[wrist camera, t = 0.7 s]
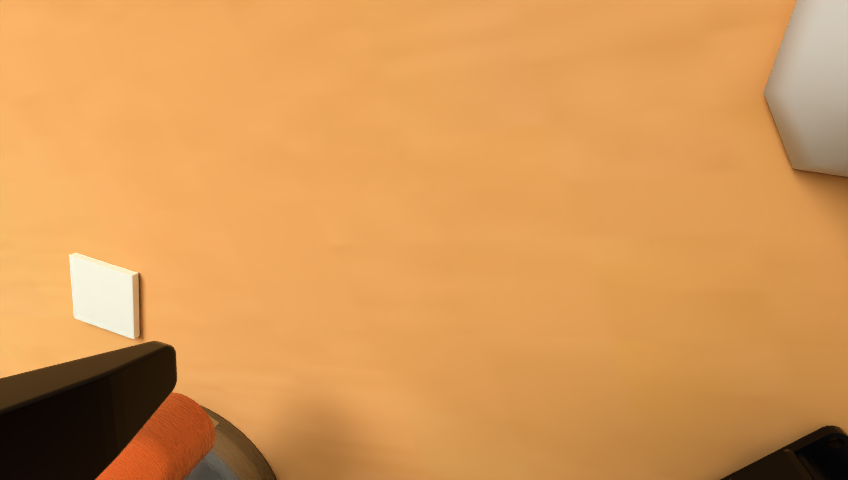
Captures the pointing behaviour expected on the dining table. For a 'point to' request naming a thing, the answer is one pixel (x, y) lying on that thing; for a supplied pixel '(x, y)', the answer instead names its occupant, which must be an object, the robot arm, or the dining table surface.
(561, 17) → the dining table surface
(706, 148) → the dining table surface
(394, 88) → the dining table surface
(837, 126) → the flask
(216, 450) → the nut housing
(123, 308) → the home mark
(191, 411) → the copper crank handle
